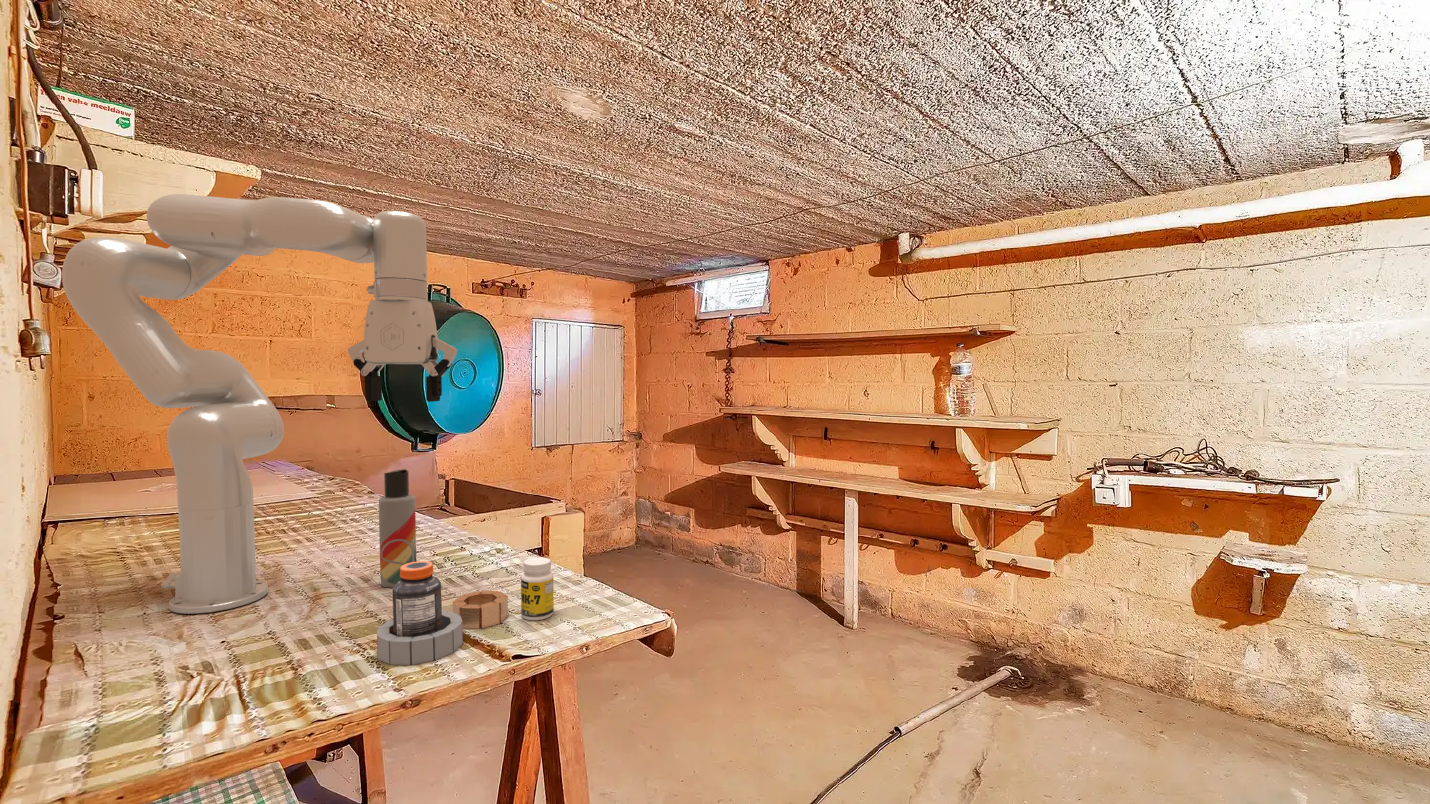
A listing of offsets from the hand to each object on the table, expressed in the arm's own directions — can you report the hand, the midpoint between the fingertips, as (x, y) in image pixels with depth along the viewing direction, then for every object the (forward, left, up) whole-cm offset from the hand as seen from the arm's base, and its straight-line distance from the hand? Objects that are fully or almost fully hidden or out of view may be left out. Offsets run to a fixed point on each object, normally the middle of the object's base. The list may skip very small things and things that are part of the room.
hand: (403, 401), depth 102 cm
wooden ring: (+15, -7, -32) cm, 36 cm away
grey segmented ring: (+11, -17, -32) cm, 38 cm away
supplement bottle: (+23, -5, -32) cm, 40 cm away
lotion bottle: (-6, +8, -32) cm, 34 cm away
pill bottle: (+11, -17, -32) cm, 38 cm away
